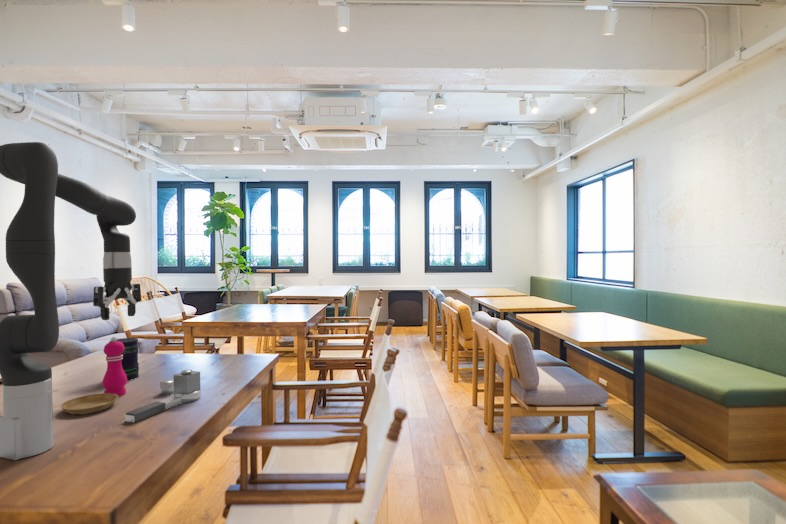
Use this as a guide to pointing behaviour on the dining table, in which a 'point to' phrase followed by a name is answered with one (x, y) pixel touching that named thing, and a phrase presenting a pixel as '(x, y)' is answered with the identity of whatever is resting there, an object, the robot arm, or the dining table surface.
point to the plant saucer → (89, 403)
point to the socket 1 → (167, 387)
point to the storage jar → (130, 357)
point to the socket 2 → (186, 382)
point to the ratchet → (160, 406)
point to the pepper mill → (114, 368)
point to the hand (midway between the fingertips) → (118, 317)
